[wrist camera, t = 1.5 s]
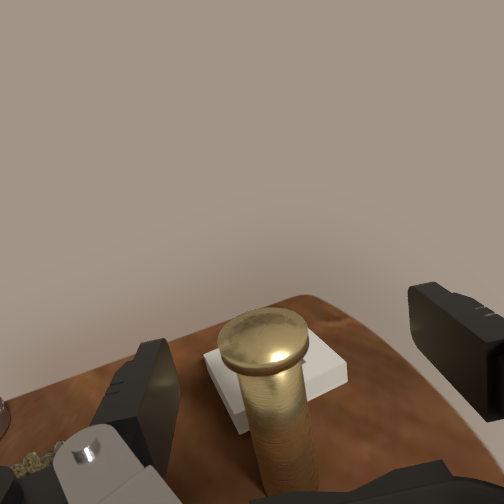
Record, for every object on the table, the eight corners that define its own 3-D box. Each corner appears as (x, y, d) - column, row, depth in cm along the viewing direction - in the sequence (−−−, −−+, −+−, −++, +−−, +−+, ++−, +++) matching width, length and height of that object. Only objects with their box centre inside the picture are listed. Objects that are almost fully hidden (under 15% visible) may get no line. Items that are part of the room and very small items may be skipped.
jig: (239, 435, 33) (234, 414, 32) (208, 371, 42) (203, 354, 41) (347, 381, 37) (346, 362, 36) (298, 333, 46) (295, 317, 45)
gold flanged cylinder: (274, 535, 25) (236, 377, 20) (243, 467, 30) (206, 327, 25) (343, 493, 27) (325, 337, 22) (303, 435, 32) (281, 298, 27)
